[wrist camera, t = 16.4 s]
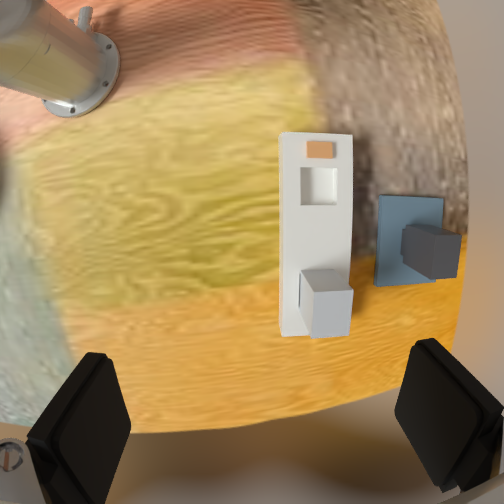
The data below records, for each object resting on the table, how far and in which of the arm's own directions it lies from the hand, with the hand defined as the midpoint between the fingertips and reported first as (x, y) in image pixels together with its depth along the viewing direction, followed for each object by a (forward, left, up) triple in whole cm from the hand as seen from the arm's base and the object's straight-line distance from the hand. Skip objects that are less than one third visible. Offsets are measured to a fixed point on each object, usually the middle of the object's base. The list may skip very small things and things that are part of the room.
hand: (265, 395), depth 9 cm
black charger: (+2, +22, -29) cm, 37 cm away
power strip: (+1, +8, -30) cm, 31 cm away
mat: (+2, +22, -30) cm, 37 cm away
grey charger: (+7, +8, -28) cm, 30 cm away
